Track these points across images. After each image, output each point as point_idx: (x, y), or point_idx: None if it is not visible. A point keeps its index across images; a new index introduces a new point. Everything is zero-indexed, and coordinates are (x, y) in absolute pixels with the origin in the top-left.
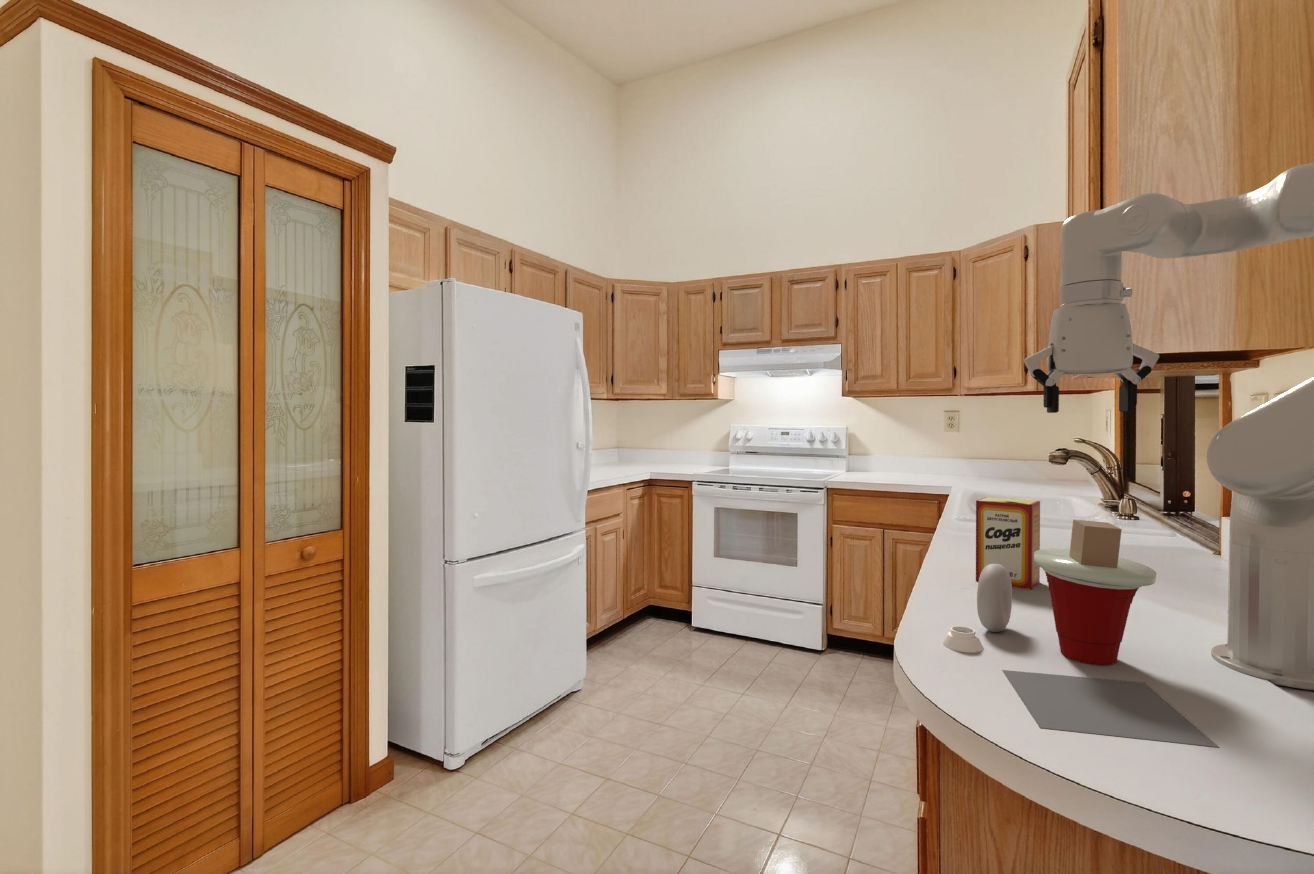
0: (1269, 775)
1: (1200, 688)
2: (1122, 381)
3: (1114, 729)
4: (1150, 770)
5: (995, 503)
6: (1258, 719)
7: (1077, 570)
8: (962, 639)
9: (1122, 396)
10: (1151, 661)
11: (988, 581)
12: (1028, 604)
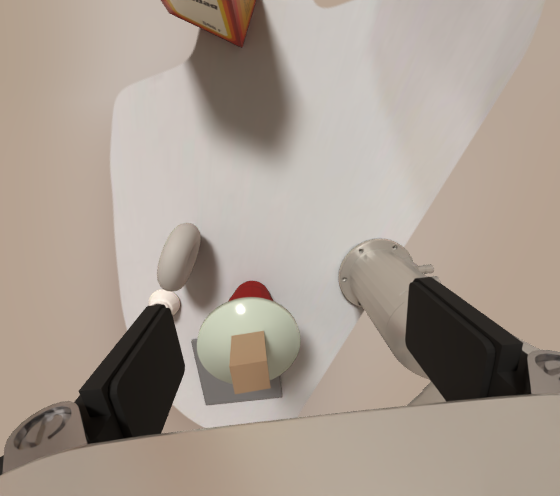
0: (293, 405)
1: (308, 320)
2: (526, 377)
3: (240, 396)
4: (247, 416)
5: None
6: (318, 353)
7: (228, 382)
8: None
9: (442, 343)
10: (296, 281)
11: (166, 290)
12: (229, 135)
